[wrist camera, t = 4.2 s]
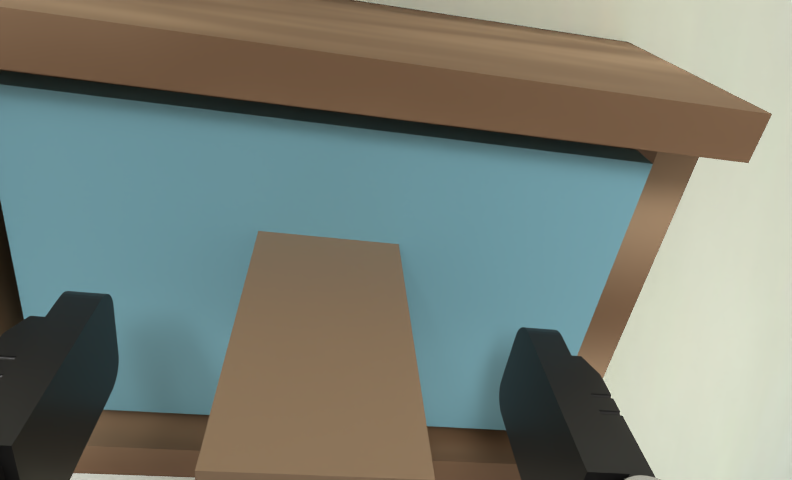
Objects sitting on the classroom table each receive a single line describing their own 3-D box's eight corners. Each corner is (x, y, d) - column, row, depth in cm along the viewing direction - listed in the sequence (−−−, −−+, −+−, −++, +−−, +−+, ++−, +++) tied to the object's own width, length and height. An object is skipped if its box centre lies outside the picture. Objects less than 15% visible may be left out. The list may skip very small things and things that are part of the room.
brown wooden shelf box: (26, -50, 14) (-176, -18, 9) (628, 41, 17) (772, 113, 11) (77, 308, 20) (-29, 469, 14) (527, 341, 22) (589, 491, 16)
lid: (-1, 70, 11) (-390, 261, 5) (636, 149, 13) (879, 358, 7) (55, 382, 15) (-132, 694, 9) (538, 410, 17) (642, 684, 11)
